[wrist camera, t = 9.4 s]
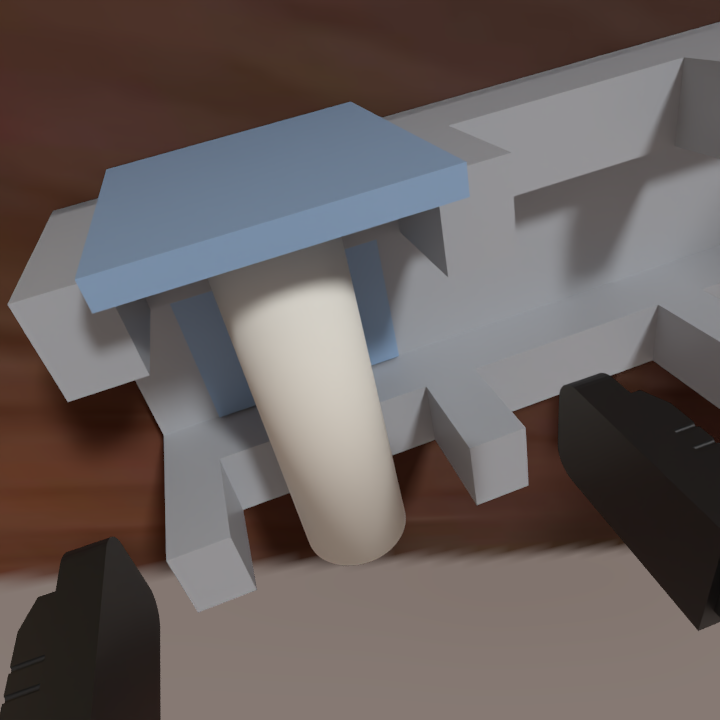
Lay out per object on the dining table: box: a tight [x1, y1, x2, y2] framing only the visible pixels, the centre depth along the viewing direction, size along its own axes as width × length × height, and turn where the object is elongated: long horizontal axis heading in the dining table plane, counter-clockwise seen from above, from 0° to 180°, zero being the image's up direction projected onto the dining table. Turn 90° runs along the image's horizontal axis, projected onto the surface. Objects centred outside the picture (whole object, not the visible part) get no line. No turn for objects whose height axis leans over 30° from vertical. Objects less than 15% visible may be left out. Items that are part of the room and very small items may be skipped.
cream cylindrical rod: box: [207, 237, 406, 566], centre depth 15 cm, size 10×3×3 cm, turn 12°
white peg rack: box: [8, 22, 720, 612], centre depth 16 cm, size 10×26×7 cm, turn 102°
